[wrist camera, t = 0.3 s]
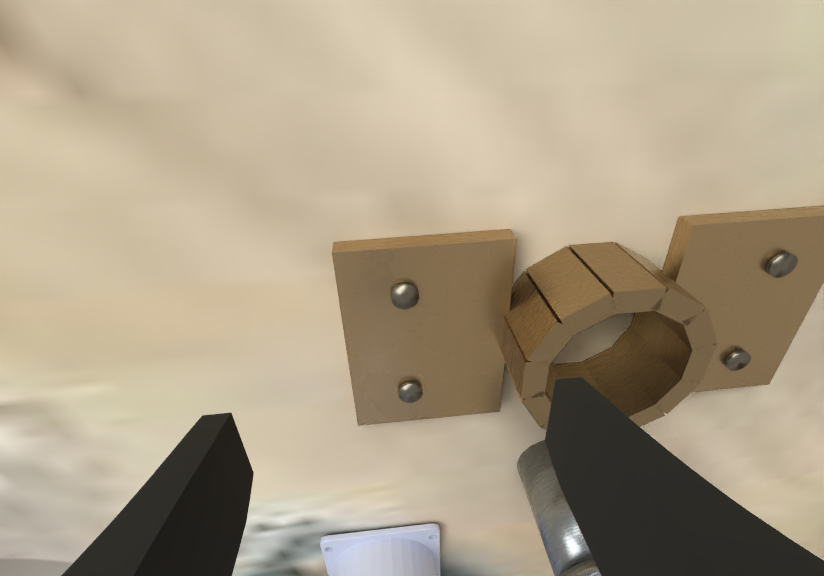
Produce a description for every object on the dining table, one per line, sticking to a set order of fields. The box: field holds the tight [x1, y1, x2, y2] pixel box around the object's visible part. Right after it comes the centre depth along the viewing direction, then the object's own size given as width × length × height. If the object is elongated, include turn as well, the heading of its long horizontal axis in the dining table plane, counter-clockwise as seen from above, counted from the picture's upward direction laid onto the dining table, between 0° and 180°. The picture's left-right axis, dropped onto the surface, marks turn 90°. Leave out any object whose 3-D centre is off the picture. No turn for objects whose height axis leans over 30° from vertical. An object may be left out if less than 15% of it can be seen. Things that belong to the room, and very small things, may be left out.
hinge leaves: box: [332, 206, 824, 430], centre depth 19 cm, size 10×23×4 cm, turn 92°
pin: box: [517, 441, 601, 576], centre depth 24 cm, size 5×5×8 cm
